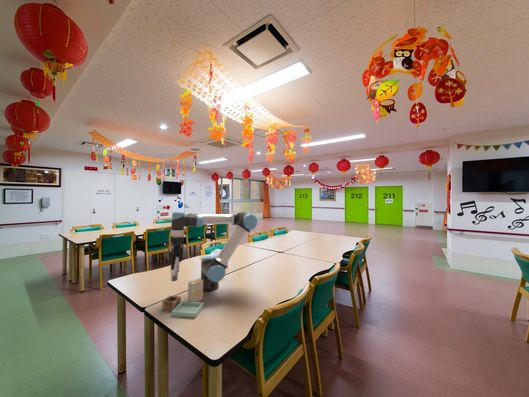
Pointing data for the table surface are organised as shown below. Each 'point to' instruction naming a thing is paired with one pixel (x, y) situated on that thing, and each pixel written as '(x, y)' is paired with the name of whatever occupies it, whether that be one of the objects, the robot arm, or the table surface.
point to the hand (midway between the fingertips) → (174, 273)
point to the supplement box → (195, 290)
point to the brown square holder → (171, 303)
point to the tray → (188, 309)
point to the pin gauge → (175, 277)
